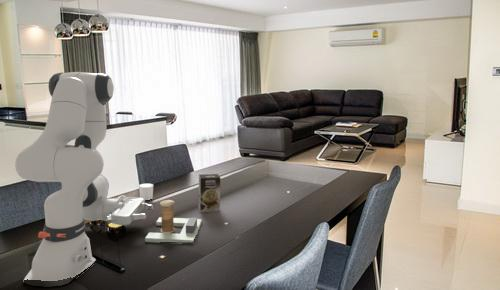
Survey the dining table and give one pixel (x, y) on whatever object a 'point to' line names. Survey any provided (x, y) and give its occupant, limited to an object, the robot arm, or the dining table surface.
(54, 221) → the robot arm
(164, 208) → the bobbin
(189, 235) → the notched board
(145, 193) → the shot glass
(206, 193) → the coffee box
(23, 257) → the dining table surface
